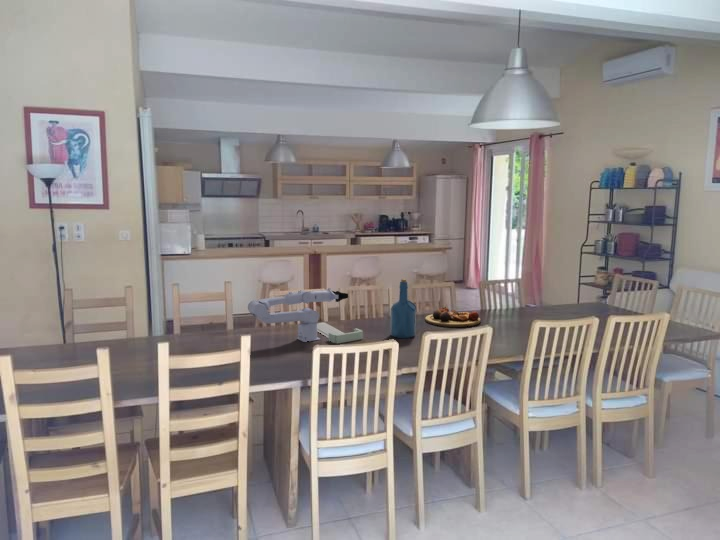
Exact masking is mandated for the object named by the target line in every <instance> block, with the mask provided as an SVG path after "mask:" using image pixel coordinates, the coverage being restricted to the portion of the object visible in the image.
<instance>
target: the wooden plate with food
mask: <svg viewBox="0 0 720 540" xmlns="http://www.w3.org/2000/svg"><path fill="white" fill-rule="evenodd" d="M424 320H425V321H424V322H426V323H427V322H428V323H427V324H429V323H430V324H429V325H432V324H433V325H432V326H437V325H438V327H446V328H465V327H467V326H468V327H473V326H476V325H479V324H480V323H481V322H482V321H481V318H480V314H479V312H478V311H475V310H474V311H471V312H469V311H463V312H461V311H460V312H459V311H455V309H453V310H451V311H450V309H449V308H448V307H447V306H445V307H442V308H437V309H436V310H434V311H433V313H432V314H429V315H426V316H425V318H424ZM468 327H467V328H468Z"/></svg>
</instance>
